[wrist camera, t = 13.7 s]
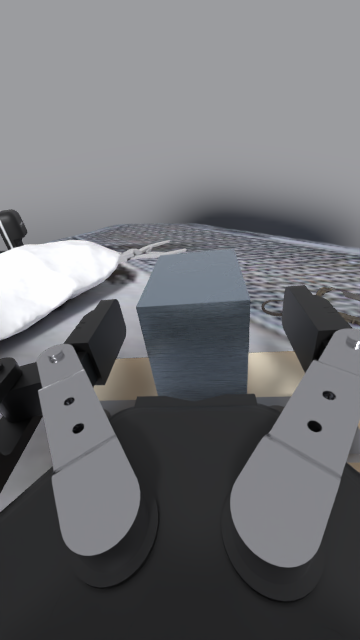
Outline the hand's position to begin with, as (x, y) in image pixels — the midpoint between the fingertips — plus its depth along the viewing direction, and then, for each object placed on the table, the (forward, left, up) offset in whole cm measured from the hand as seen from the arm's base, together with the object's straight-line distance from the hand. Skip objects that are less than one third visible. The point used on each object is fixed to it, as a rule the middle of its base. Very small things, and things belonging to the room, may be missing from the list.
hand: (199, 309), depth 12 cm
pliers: (-12, +40, -10) cm, 43 cm away
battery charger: (-39, +41, -9) cm, 57 cm away
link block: (0, -1, -7) cm, 8 cm away
